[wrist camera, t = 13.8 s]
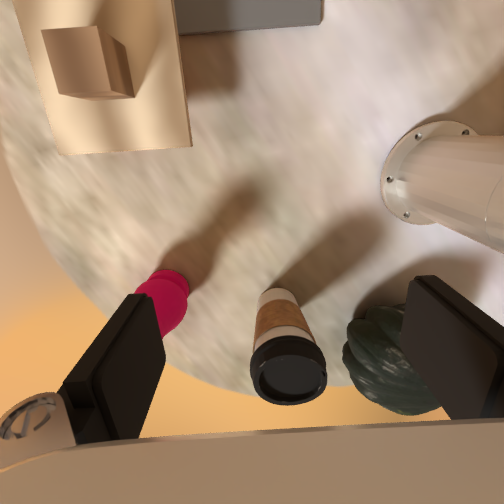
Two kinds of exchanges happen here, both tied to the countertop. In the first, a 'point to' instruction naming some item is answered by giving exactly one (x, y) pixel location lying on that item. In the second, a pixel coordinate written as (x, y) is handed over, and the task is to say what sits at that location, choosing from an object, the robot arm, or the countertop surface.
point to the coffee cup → (285, 352)
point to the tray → (244, 15)
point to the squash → (385, 363)
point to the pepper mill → (167, 298)
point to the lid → (108, 73)
